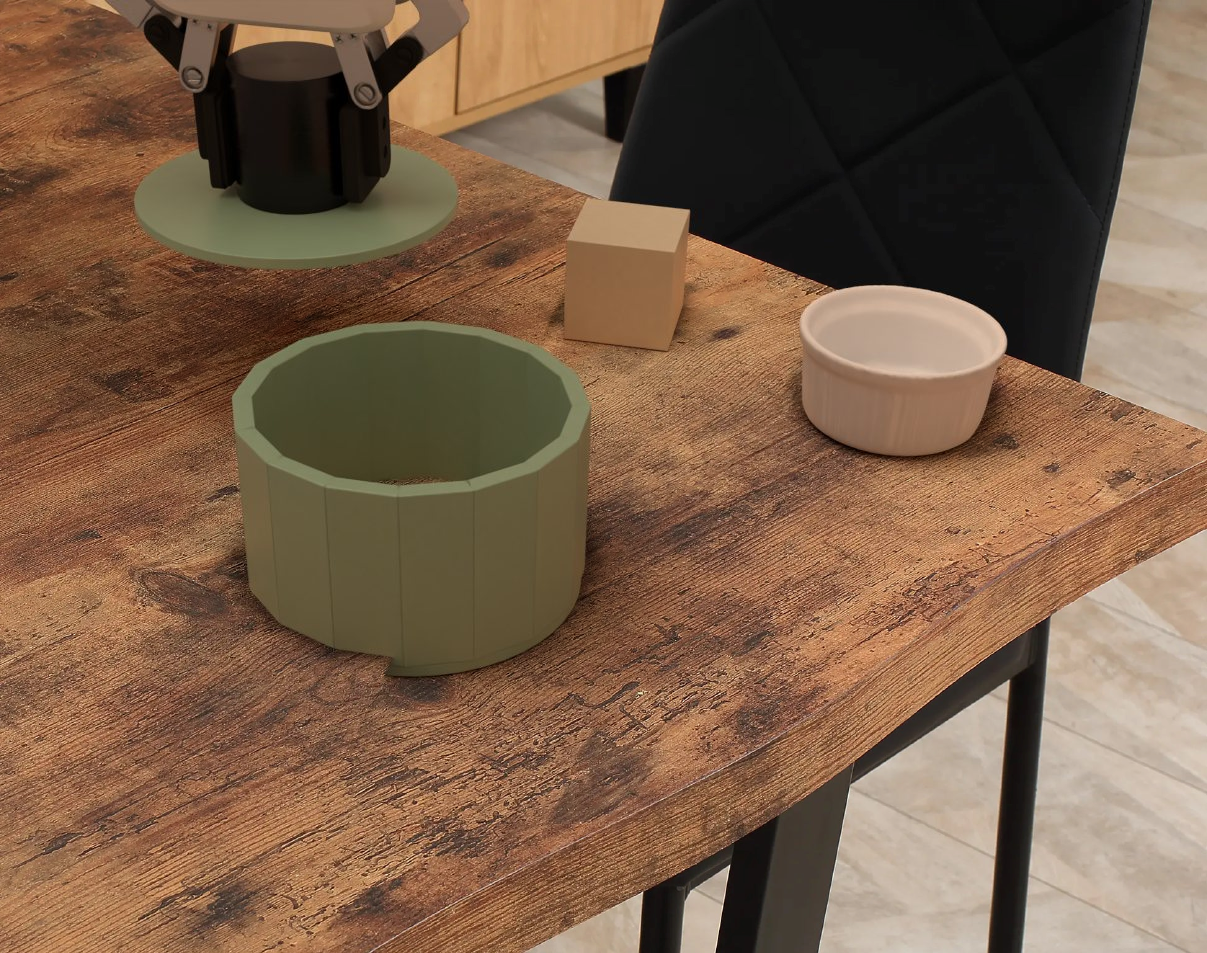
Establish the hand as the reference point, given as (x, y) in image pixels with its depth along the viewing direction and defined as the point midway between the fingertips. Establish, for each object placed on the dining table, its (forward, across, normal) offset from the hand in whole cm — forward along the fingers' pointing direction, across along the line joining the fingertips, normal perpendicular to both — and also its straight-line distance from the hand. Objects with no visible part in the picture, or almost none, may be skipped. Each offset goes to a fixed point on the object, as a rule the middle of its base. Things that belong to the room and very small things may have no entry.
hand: (297, 179), depth 72 cm
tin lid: (+1, 0, 0) cm, 1 cm away
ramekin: (+10, -26, -3) cm, 28 cm away
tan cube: (+9, -13, -9) cm, 18 cm away
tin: (+9, -9, +14) cm, 19 cm away
